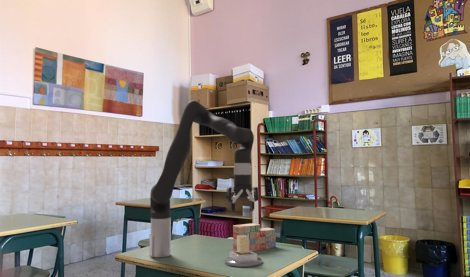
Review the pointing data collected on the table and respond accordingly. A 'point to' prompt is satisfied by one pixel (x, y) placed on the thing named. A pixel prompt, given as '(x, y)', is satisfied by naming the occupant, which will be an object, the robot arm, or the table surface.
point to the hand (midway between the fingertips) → (242, 211)
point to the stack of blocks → (255, 236)
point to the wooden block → (242, 244)
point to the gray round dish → (243, 259)
